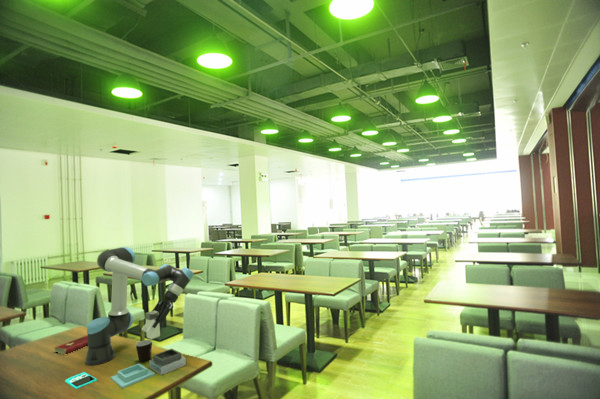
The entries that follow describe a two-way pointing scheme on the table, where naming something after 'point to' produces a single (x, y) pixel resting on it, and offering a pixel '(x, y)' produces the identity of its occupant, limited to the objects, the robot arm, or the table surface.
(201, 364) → the table surface
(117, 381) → the lower socket plate
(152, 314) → the plug block
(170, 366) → the upper socket stand
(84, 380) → the handheld game console
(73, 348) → the hardcover book
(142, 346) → the coffee mug
